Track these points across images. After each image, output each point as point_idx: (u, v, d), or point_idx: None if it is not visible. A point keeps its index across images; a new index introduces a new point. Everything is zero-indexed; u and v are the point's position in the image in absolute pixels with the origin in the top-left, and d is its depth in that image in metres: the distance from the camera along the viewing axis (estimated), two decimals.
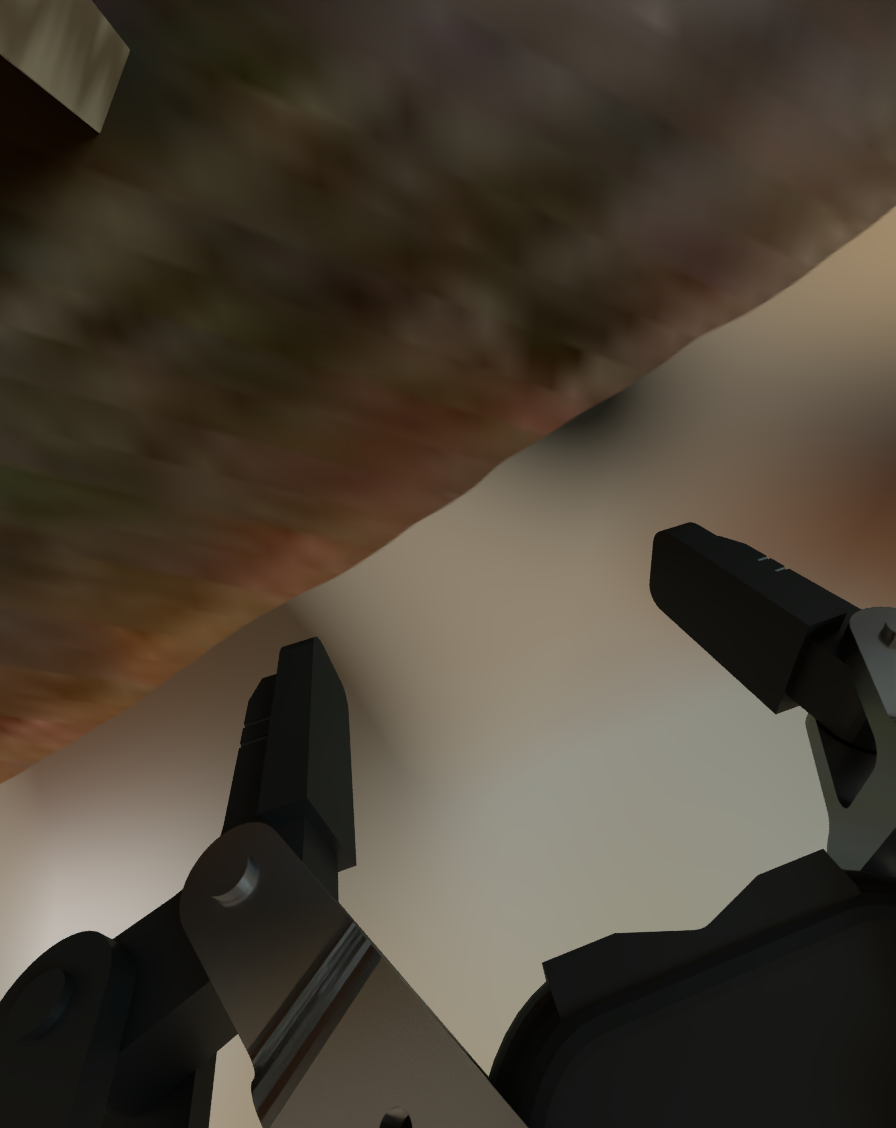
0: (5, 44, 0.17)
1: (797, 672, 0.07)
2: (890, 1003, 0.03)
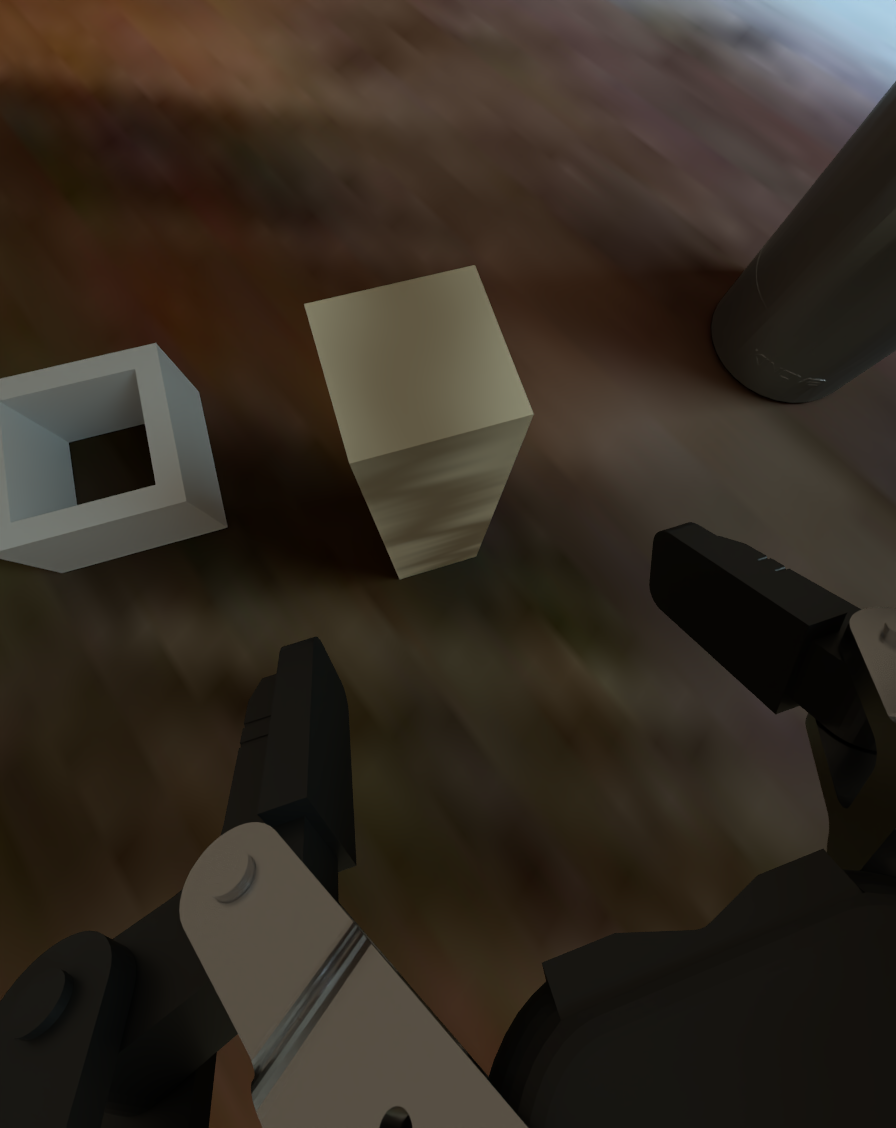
0: (393, 538, 0.16)
1: (797, 672, 0.07)
2: (890, 1003, 0.03)
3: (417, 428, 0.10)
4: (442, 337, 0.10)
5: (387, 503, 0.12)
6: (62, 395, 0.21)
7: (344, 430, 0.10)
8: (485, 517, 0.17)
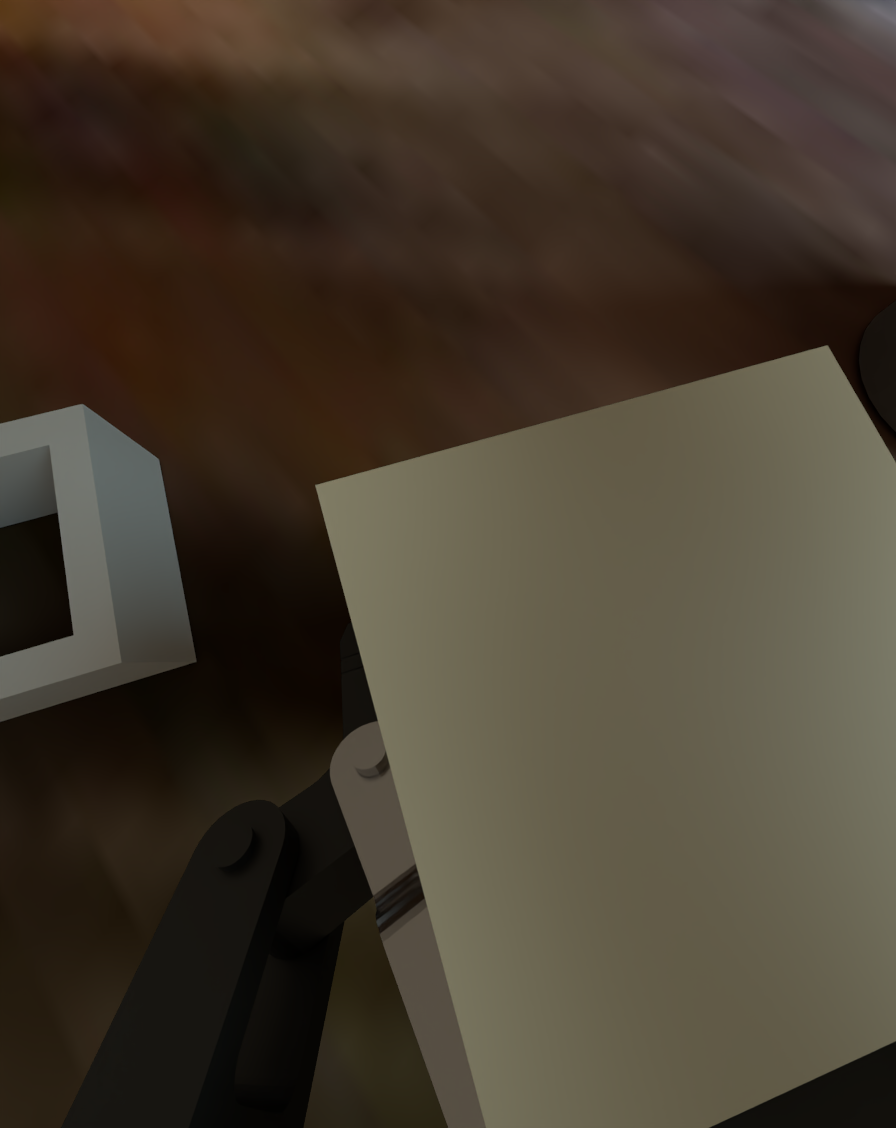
0: None
1: None
2: None
3: (754, 1009, 0.03)
4: (777, 601, 0.03)
5: None
6: None
7: (480, 1041, 0.02)
8: None
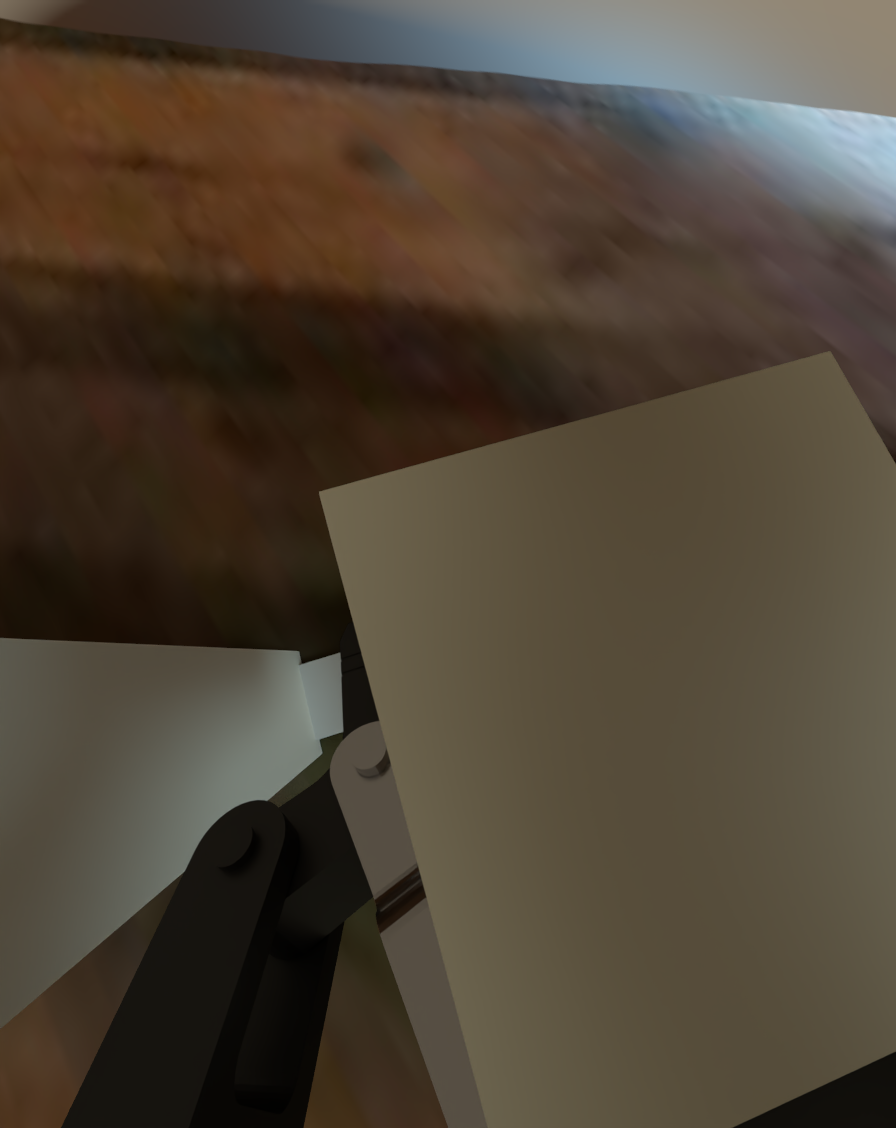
0: None
1: None
2: None
3: (759, 1017, 0.03)
4: (780, 608, 0.03)
5: None
6: None
7: (484, 1049, 0.02)
8: None
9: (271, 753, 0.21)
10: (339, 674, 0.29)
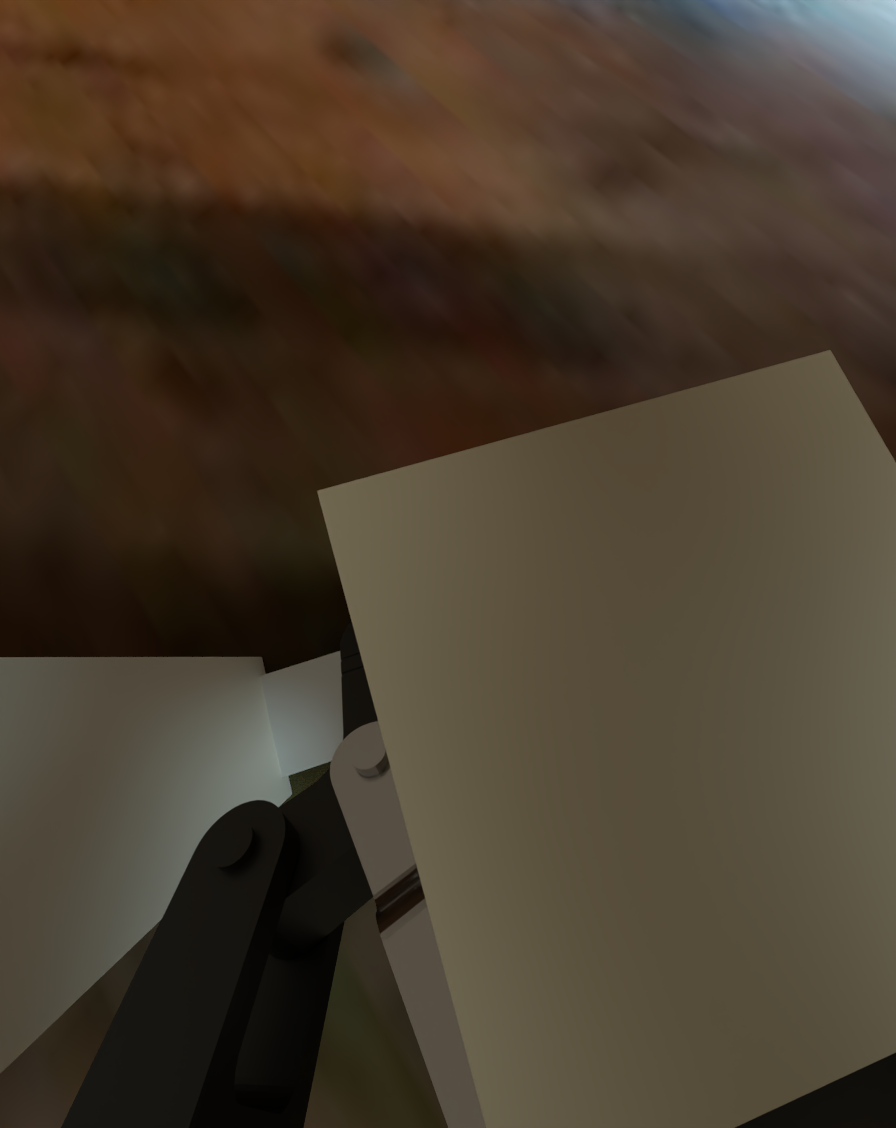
0: None
1: None
2: None
3: (758, 1017, 0.03)
4: (779, 608, 0.03)
5: None
6: None
7: (483, 1050, 0.02)
8: None
9: (198, 815, 0.14)
10: (314, 687, 0.21)
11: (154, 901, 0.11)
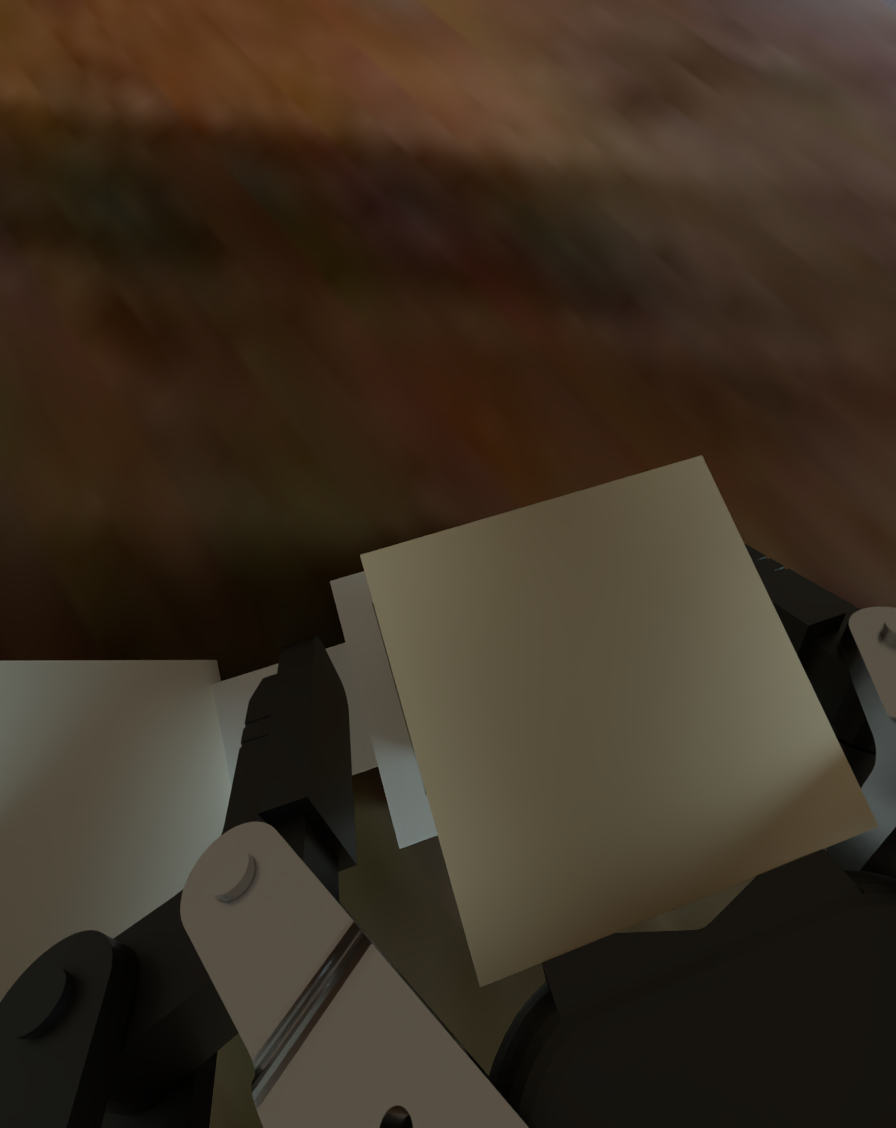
0: None
1: None
2: (890, 1003, 0.03)
3: (626, 875, 0.04)
4: (656, 631, 0.05)
5: None
6: None
7: (463, 891, 0.04)
8: None
9: (78, 898, 0.09)
10: None
11: None
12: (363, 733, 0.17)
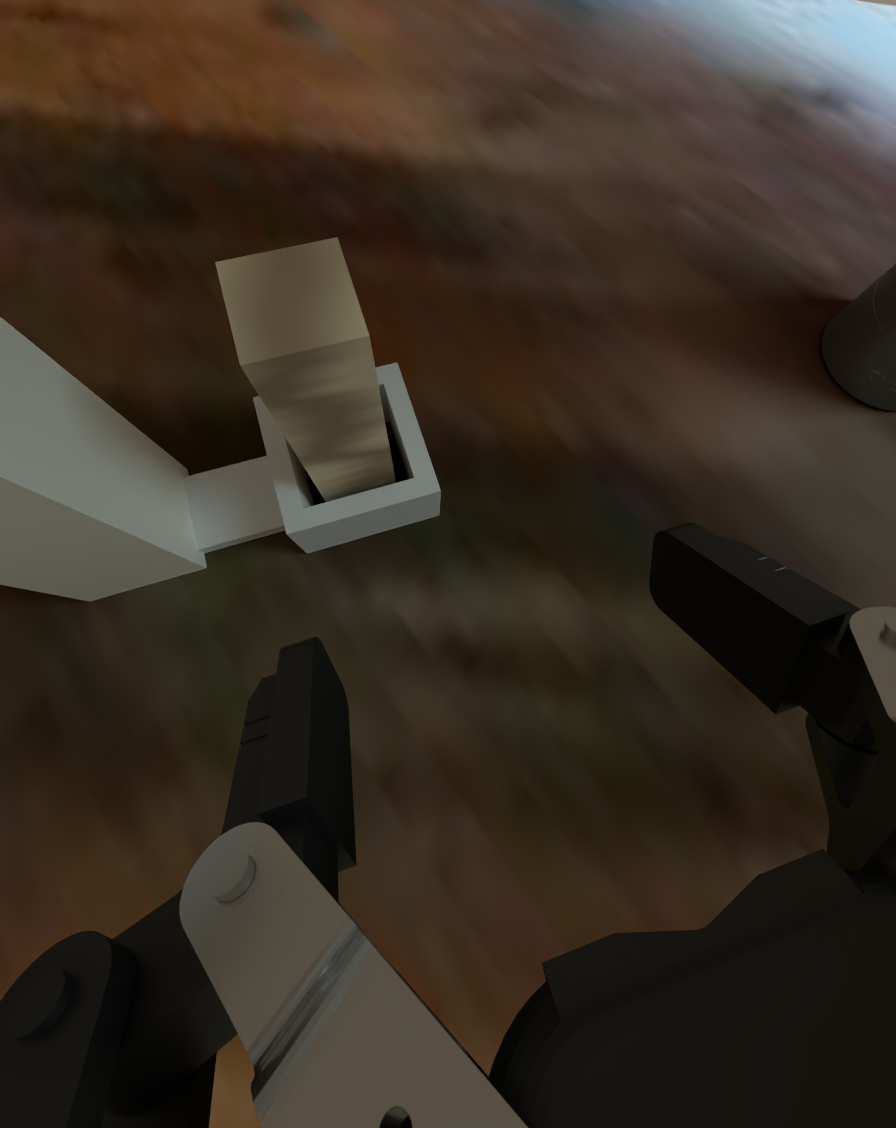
0: (306, 455, 0.20)
1: (797, 672, 0.07)
2: (890, 1003, 0.03)
3: (288, 343, 0.14)
4: (310, 285, 0.15)
5: (285, 411, 0.17)
6: None
7: (237, 344, 0.14)
8: (382, 443, 0.21)
9: (109, 491, 0.19)
10: (226, 486, 0.27)
11: (66, 494, 0.16)
12: (278, 506, 0.27)
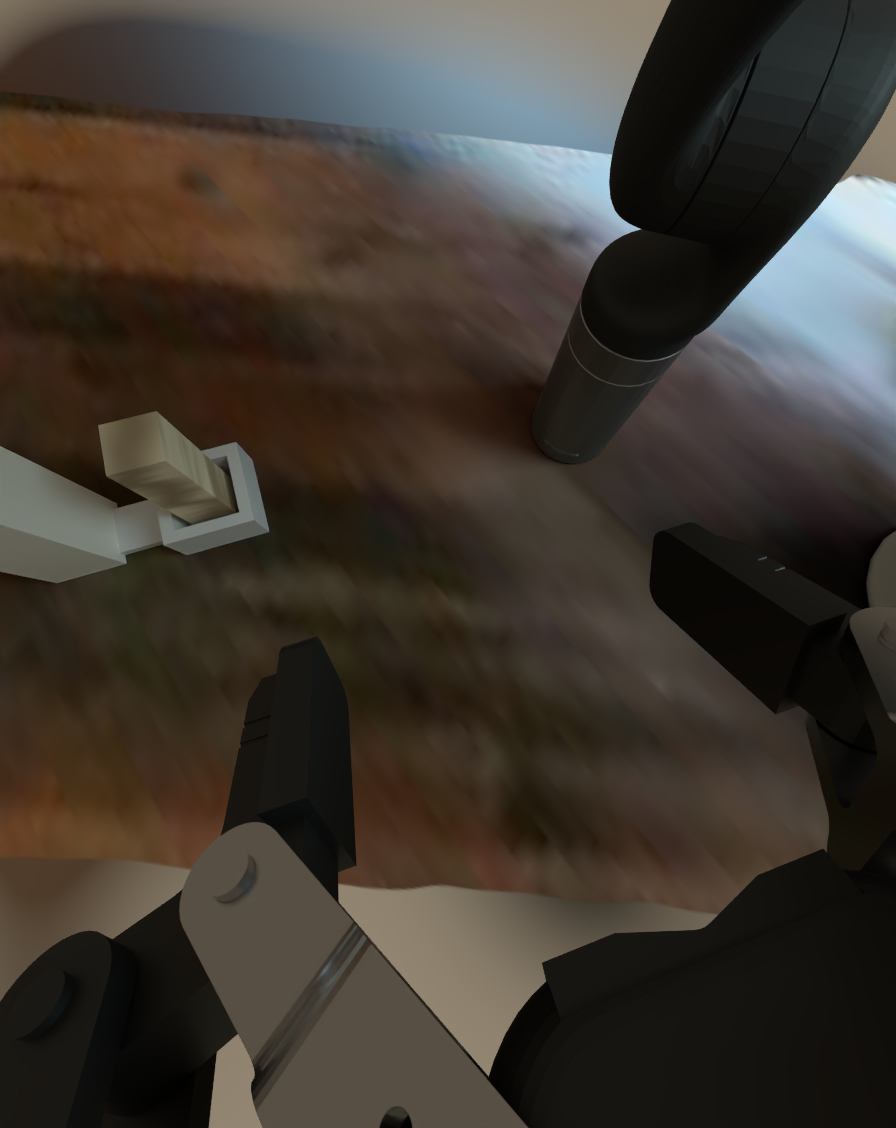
0: (164, 504, 0.38)
1: (797, 672, 0.07)
2: (890, 1003, 0.03)
3: (128, 465, 0.32)
4: (141, 436, 0.33)
5: (139, 488, 0.35)
6: None
7: (105, 466, 0.32)
8: (209, 496, 0.39)
9: (59, 525, 0.37)
10: (138, 514, 0.45)
11: (34, 529, 0.34)
12: None
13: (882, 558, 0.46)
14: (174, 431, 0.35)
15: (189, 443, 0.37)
